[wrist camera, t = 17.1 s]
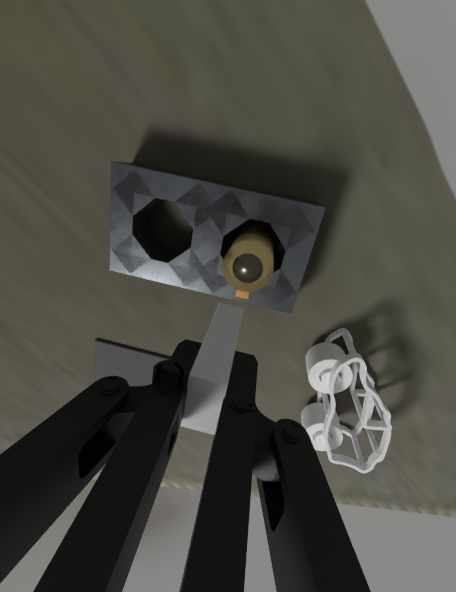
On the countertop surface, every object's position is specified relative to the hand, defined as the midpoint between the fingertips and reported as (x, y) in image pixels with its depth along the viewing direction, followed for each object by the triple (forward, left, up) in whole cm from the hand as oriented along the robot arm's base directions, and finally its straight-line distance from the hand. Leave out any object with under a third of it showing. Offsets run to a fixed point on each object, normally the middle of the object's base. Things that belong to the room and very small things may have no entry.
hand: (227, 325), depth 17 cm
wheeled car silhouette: (+18, -19, -23) cm, 35 cm away
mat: (-15, -29, -23) cm, 40 cm away
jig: (-5, 0, -23) cm, 23 cm away
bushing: (0, 0, -23) cm, 23 cm away
